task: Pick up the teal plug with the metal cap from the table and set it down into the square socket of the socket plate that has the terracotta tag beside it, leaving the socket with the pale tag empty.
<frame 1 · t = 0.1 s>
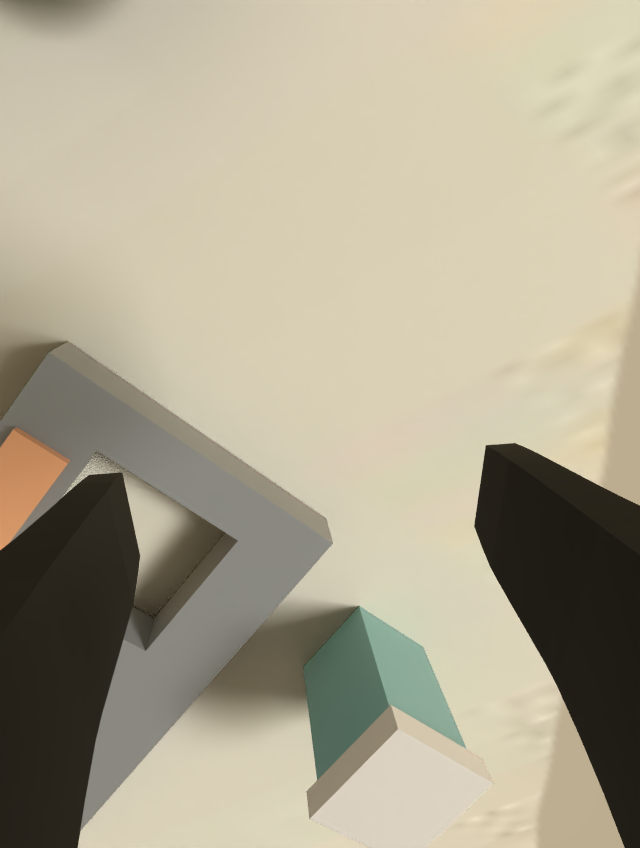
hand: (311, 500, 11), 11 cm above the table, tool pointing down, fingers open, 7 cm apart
socket plate: (58, 626, 23), on the table
plug: (363, 656, 26), on the table
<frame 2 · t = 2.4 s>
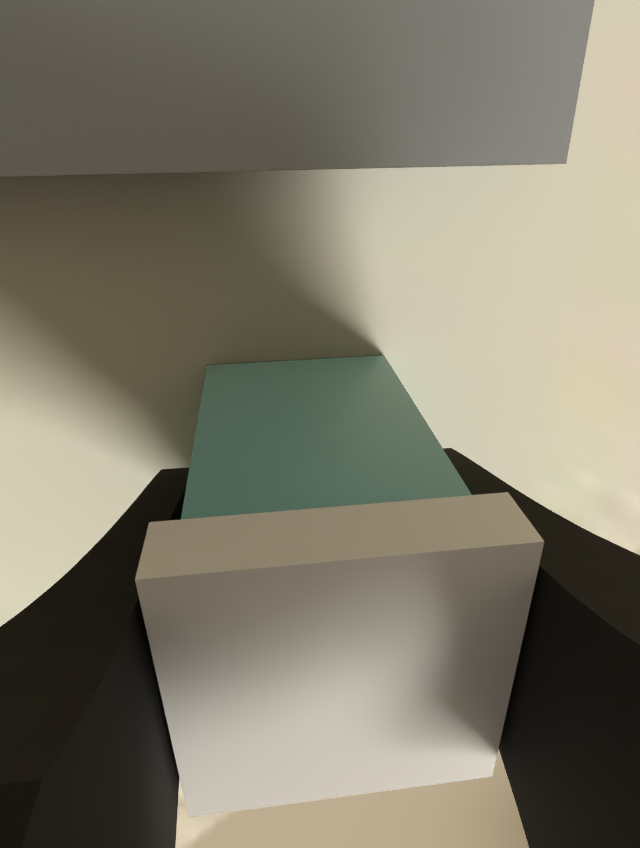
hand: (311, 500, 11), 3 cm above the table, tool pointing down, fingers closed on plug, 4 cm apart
plug: (299, 437, 13), on the table, touching gripper
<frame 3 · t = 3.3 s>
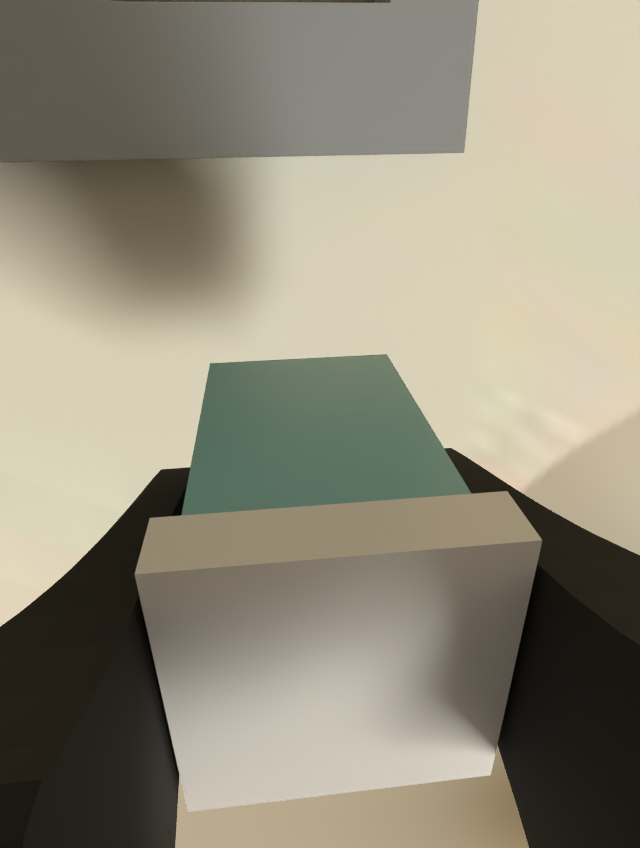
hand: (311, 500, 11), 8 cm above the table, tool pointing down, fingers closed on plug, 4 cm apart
plug: (302, 436, 13), point 5 cm above the table, touching gripper
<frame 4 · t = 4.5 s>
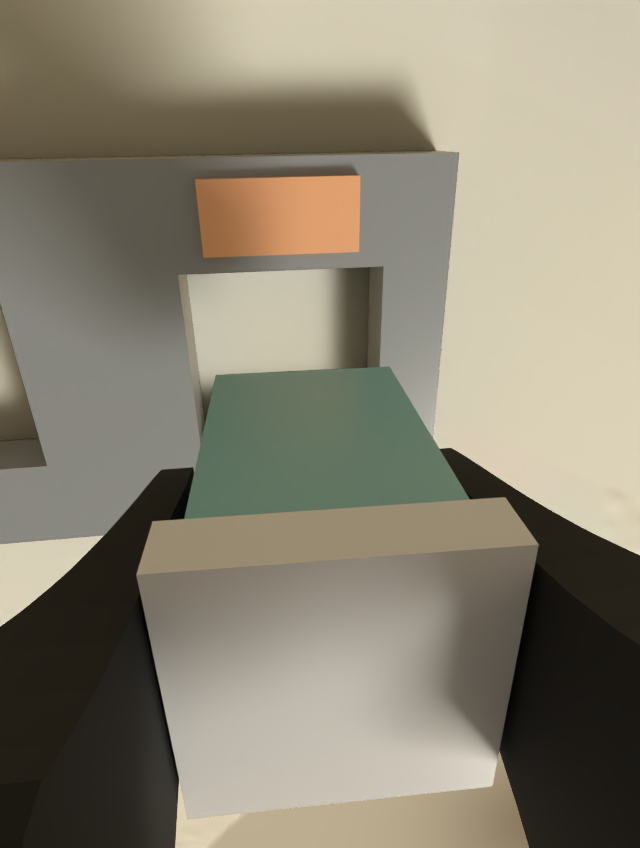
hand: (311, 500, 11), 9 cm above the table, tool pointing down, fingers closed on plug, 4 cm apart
socket plate: (121, 354, 19), on the table
plug: (306, 447, 14), point 7 cm above the table, touching gripper
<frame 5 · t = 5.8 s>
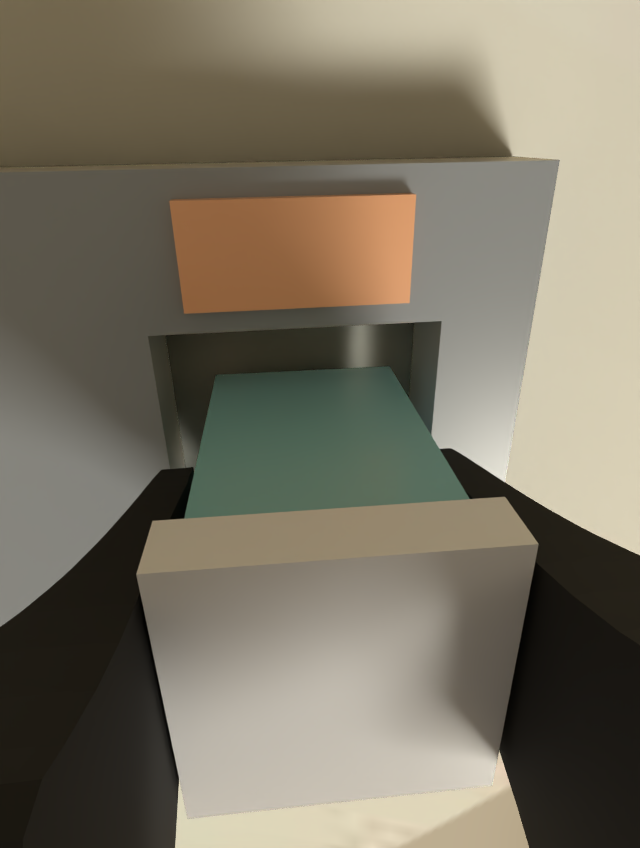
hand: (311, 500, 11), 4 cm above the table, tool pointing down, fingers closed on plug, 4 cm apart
socket plate: (77, 430, 14), on the table
plug: (306, 447, 14), point 1 cm above the table, touching gripper
when the fingers open (4 cm above the table, at t = 6.9 s): plug drops 1 cm, resting in socket plate.
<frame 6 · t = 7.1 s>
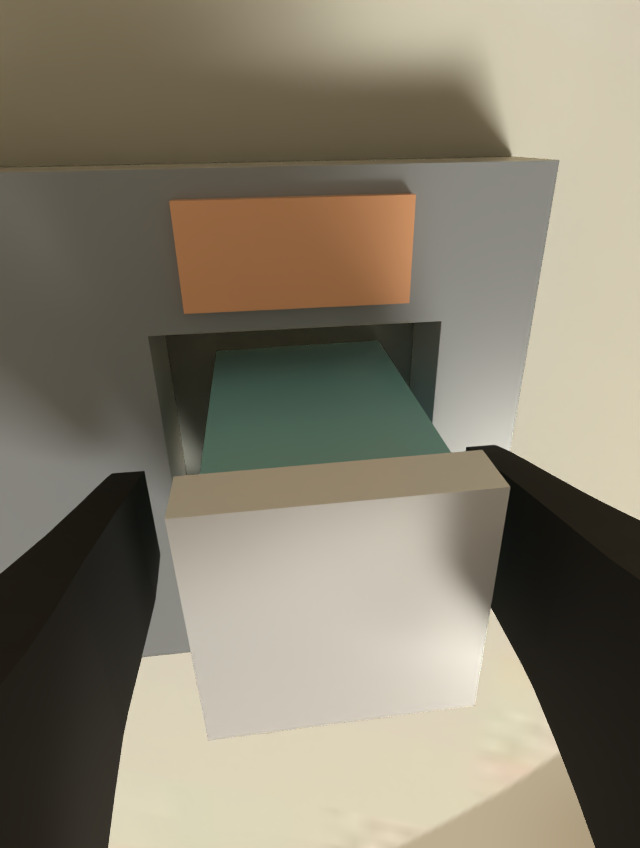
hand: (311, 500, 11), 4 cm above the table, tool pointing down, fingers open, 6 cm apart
socket plate: (77, 430, 14), on the table
plug: (301, 417, 14), resting in socket plate
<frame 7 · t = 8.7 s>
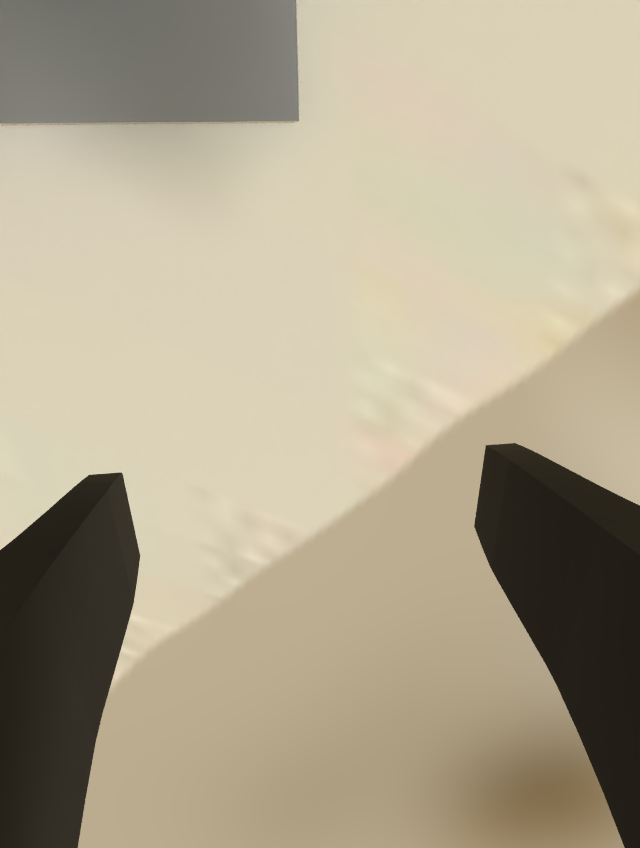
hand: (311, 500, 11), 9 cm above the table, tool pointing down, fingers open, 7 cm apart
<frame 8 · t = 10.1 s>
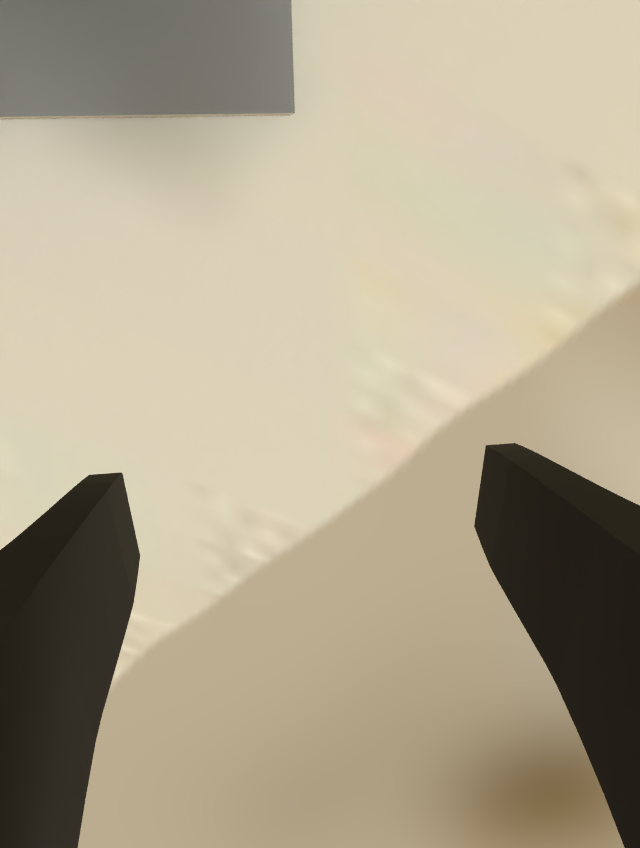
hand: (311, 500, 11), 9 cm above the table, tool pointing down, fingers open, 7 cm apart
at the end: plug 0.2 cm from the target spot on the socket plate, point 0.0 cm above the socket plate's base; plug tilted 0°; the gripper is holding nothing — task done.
